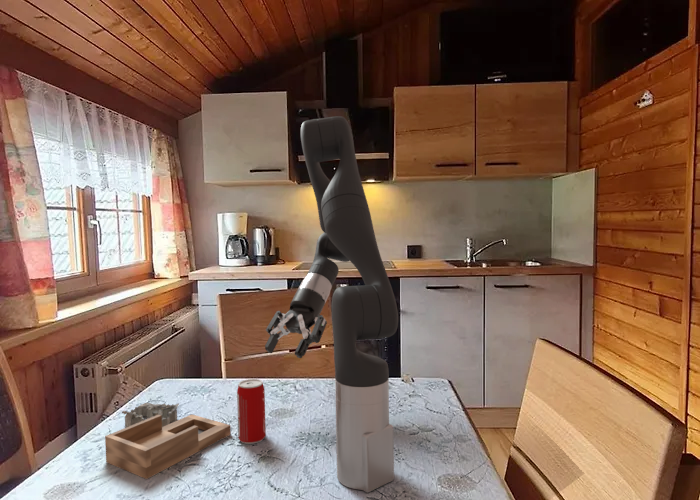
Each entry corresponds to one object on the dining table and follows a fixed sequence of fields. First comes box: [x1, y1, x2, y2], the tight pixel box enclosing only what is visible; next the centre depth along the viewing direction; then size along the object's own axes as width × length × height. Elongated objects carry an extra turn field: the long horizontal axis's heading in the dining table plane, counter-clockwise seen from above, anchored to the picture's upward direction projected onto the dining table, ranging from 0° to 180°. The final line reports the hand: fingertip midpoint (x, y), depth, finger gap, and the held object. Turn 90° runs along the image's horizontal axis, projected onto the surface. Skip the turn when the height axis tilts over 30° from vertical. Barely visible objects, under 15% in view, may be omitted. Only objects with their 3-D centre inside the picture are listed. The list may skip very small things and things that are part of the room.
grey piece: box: [121, 402, 180, 427], centre depth 105 cm, size 11×8×4 cm
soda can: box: [236, 378, 267, 445], centre depth 96 cm, size 6×6×12 cm
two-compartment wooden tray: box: [104, 414, 232, 480], centre depth 93 cm, size 12×20×5 cm, turn 149°
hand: (282, 353), depth 104 cm, fingers open, 8 cm apart
